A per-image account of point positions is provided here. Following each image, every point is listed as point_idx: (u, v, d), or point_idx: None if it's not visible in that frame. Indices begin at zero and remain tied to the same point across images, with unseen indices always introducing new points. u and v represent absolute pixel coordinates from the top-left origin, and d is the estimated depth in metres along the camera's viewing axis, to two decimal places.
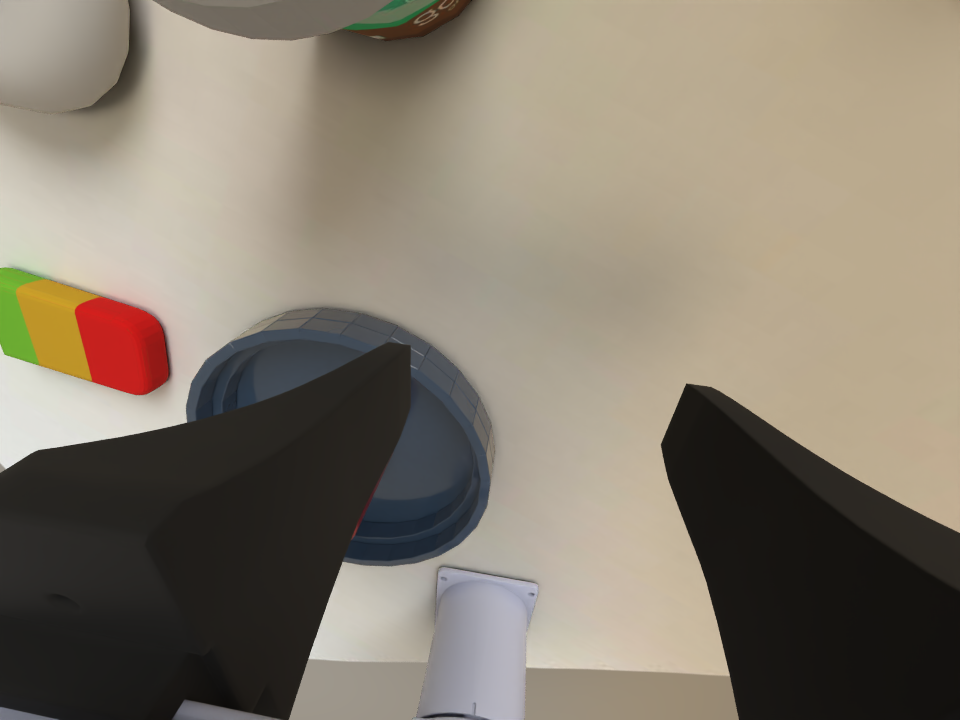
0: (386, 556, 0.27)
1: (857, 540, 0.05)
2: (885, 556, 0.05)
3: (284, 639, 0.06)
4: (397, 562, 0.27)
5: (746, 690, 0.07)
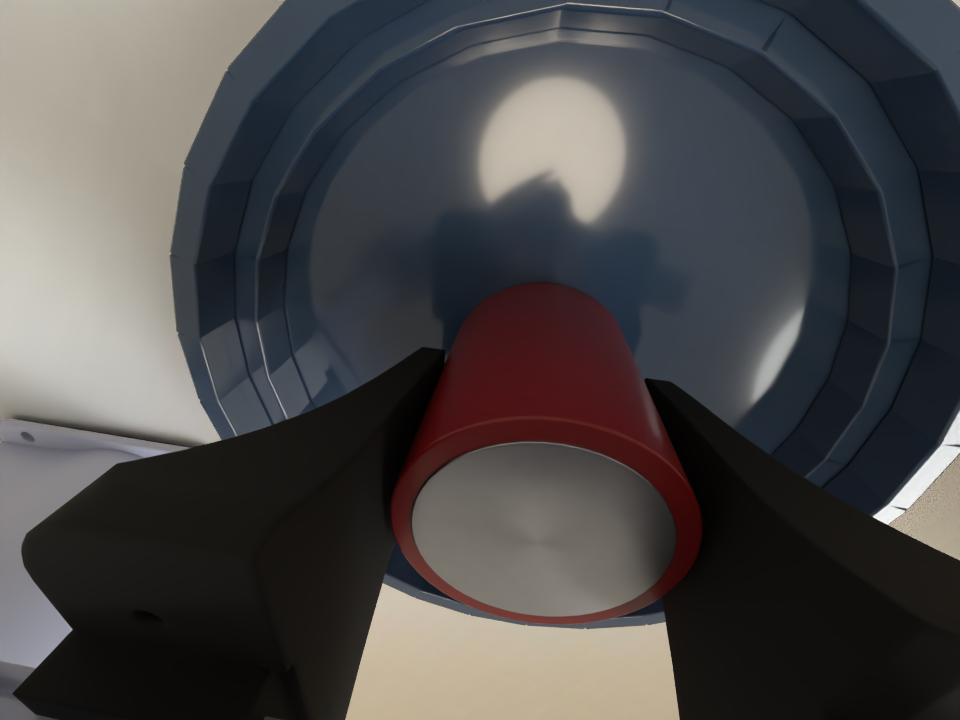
0: None
1: (775, 527, 0.05)
2: (797, 542, 0.05)
3: (342, 650, 0.06)
4: None
5: (684, 678, 0.07)
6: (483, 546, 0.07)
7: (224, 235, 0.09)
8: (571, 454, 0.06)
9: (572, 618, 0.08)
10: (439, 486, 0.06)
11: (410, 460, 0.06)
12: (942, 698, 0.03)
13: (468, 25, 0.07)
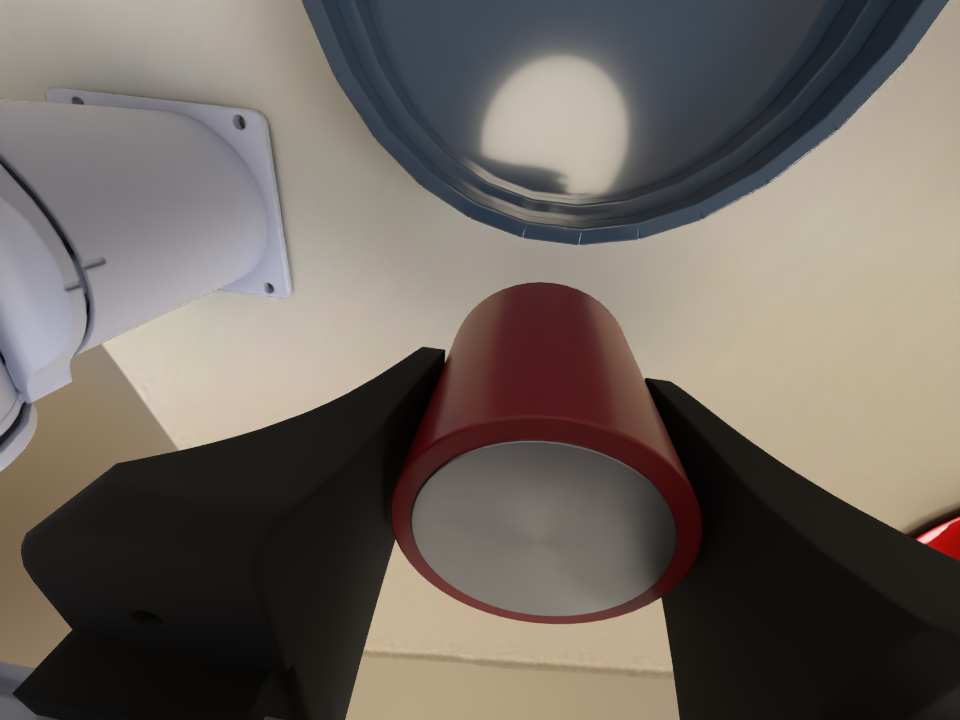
0: None
1: (775, 527, 0.05)
2: (796, 543, 0.05)
3: (342, 650, 0.06)
4: (322, 25, 0.12)
5: (684, 679, 0.07)
6: (483, 545, 0.07)
7: None
8: (571, 453, 0.06)
9: (572, 618, 0.08)
10: (438, 485, 0.06)
11: (410, 459, 0.06)
12: (942, 699, 0.03)
13: None
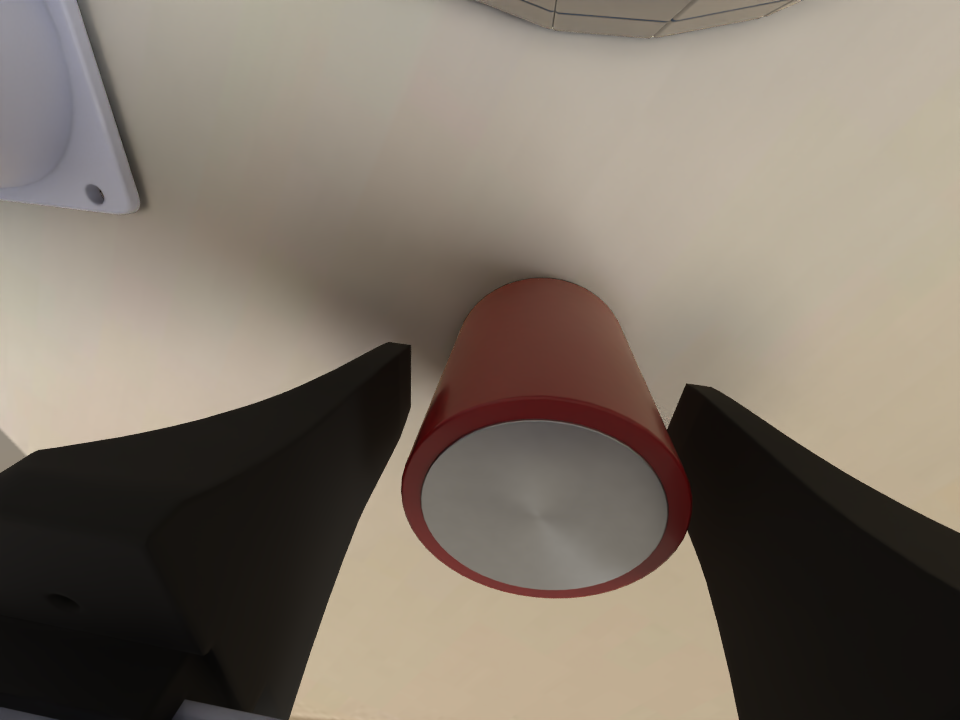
0: None
1: (857, 540, 0.05)
2: (885, 556, 0.05)
3: (284, 639, 0.06)
4: None
5: (746, 690, 0.07)
6: (488, 521, 0.07)
7: None
8: (570, 431, 0.06)
9: (571, 592, 0.08)
10: (447, 463, 0.07)
11: (421, 439, 0.07)
12: None
13: None
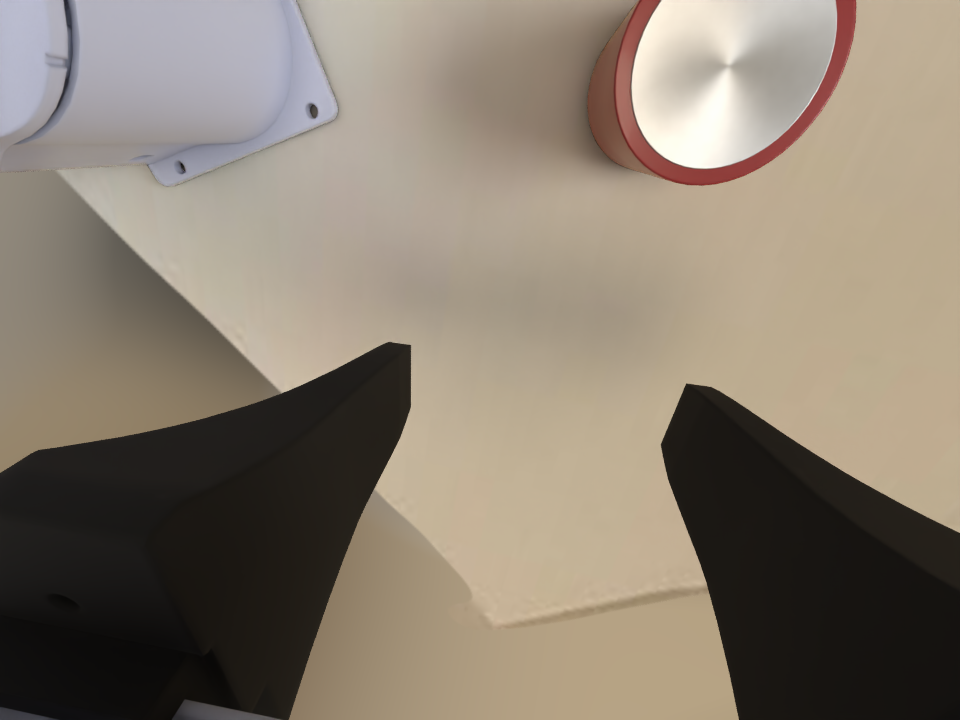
0: None
1: (857, 540, 0.05)
2: (886, 557, 0.05)
3: (284, 639, 0.06)
4: None
5: (746, 690, 0.07)
6: (688, 96, 0.10)
7: None
8: None
9: (773, 149, 0.10)
10: (647, 47, 0.09)
11: (622, 38, 0.09)
12: None
13: None
